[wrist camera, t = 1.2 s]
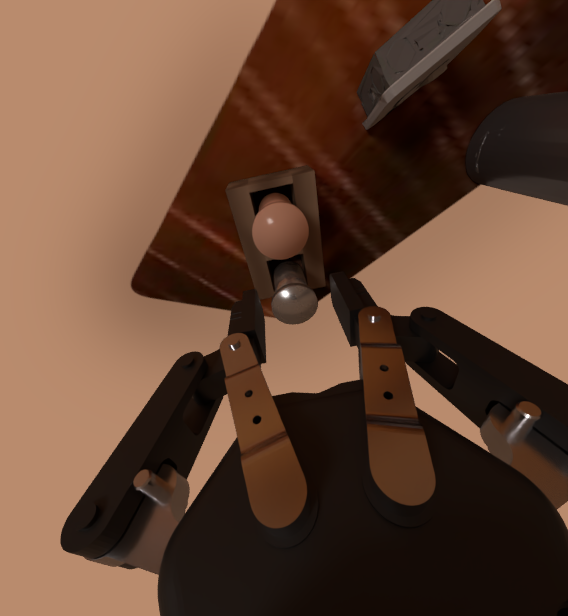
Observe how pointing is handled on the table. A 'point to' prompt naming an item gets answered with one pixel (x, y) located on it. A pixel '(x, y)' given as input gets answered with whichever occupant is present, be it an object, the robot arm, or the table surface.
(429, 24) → the electrical switch
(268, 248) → the terracotta plug
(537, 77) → the table surface
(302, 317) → the grey plug
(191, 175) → the table surface
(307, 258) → the socket board
